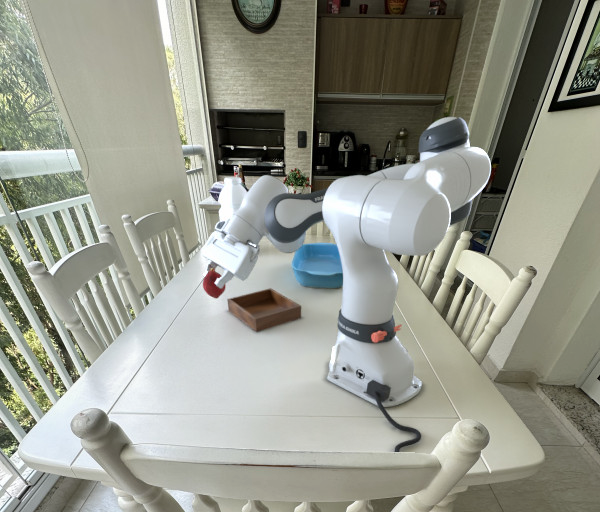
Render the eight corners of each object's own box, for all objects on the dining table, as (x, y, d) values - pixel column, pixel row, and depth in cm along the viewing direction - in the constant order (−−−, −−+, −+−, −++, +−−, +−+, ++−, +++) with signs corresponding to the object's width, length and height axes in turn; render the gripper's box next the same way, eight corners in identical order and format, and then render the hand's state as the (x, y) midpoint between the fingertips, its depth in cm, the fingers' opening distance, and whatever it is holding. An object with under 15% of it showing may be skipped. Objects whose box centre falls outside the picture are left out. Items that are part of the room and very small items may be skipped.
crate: (301, 318, 106) (301, 305, 103) (256, 332, 98) (255, 319, 96) (271, 299, 116) (270, 288, 114) (228, 311, 109) (227, 299, 106)
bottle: (252, 256, 151) (248, 180, 134) (220, 255, 151) (211, 179, 134) (256, 247, 162) (252, 175, 145) (226, 246, 162) (218, 175, 145)
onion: (222, 303, 92) (218, 273, 87) (201, 301, 93) (196, 271, 88) (230, 295, 96) (226, 265, 91) (210, 293, 97) (205, 263, 92)
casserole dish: (353, 295, 120) (355, 274, 116) (288, 291, 122) (288, 270, 117) (350, 261, 149) (352, 243, 144) (298, 258, 150) (298, 240, 146)
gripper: (270, 254, 86) (239, 301, 88) (231, 236, 99) (204, 277, 100) (253, 237, 81) (220, 288, 83) (214, 220, 94) (186, 264, 95)
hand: (211, 282), depth 92 cm, fingers closed on onion, 5 cm apart
